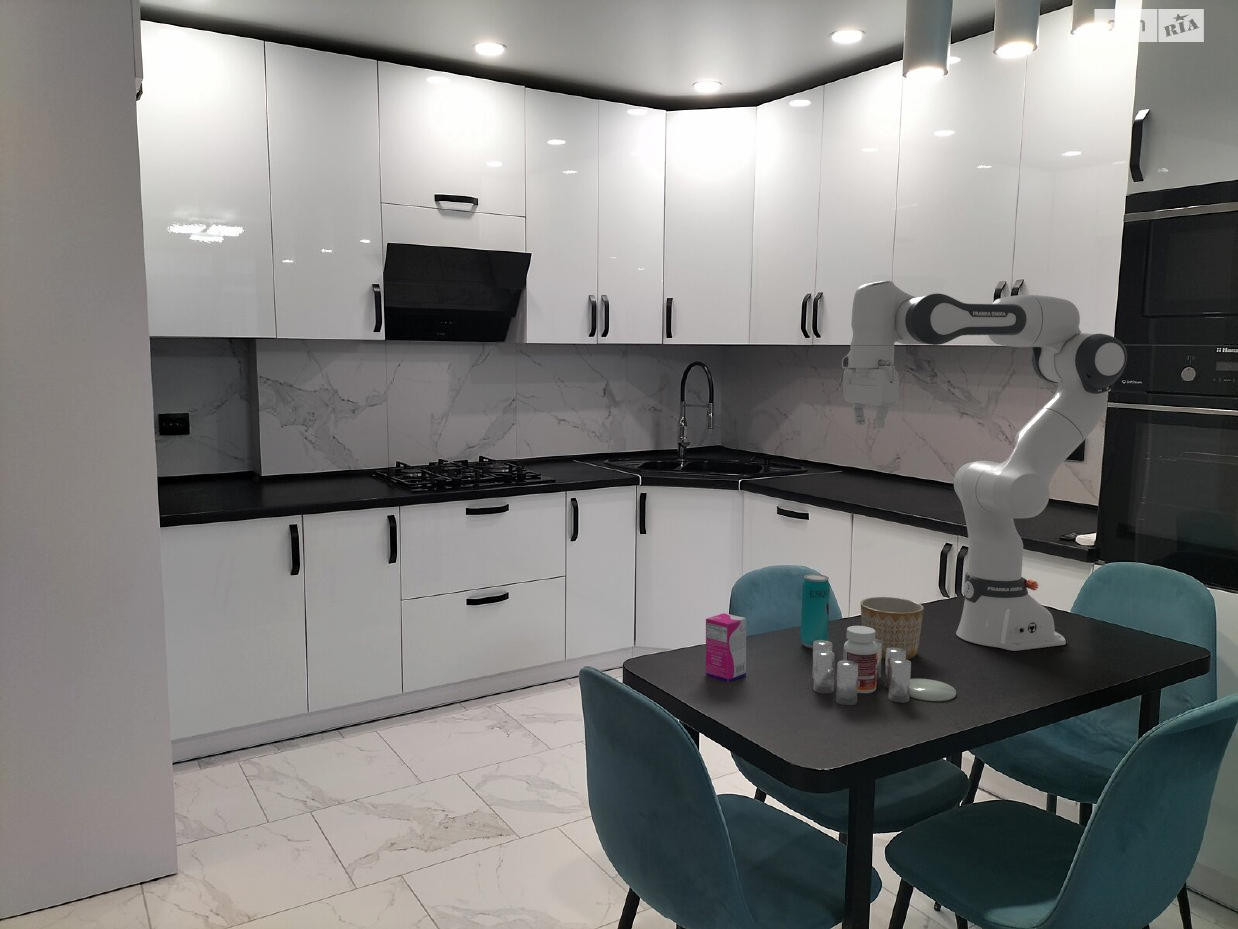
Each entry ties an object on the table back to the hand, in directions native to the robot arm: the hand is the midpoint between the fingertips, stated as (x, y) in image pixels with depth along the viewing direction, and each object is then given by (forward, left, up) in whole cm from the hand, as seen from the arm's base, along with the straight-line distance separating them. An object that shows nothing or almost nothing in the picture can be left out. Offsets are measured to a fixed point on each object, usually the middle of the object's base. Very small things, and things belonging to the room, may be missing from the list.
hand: (869, 426), depth 190 cm
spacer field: (+11, +25, -47) cm, 55 cm away
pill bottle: (+11, +25, -48) cm, 55 cm away
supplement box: (+34, +15, -48) cm, 61 cm away
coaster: (-1, +28, -47) cm, 55 cm away
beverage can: (+10, -1, -48) cm, 49 cm away
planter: (-4, +6, -48) cm, 48 cm away
